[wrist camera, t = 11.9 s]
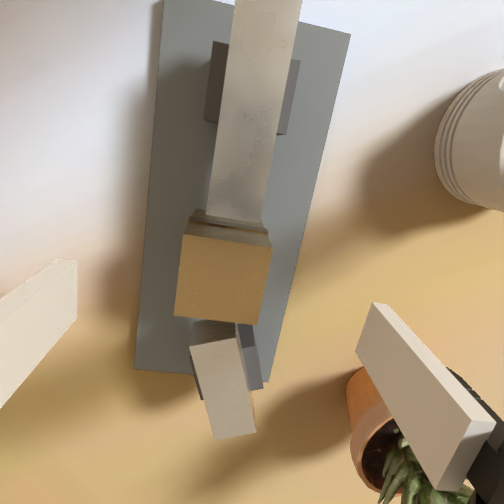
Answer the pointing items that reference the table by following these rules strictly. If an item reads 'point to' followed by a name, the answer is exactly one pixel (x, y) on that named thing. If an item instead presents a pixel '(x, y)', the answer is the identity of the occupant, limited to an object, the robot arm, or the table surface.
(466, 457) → the robot arm
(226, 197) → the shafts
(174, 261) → the shaft bench
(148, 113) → the table surface
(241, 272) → the tan cardboard block
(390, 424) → the potted plant
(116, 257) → the table surface
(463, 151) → the engine component
